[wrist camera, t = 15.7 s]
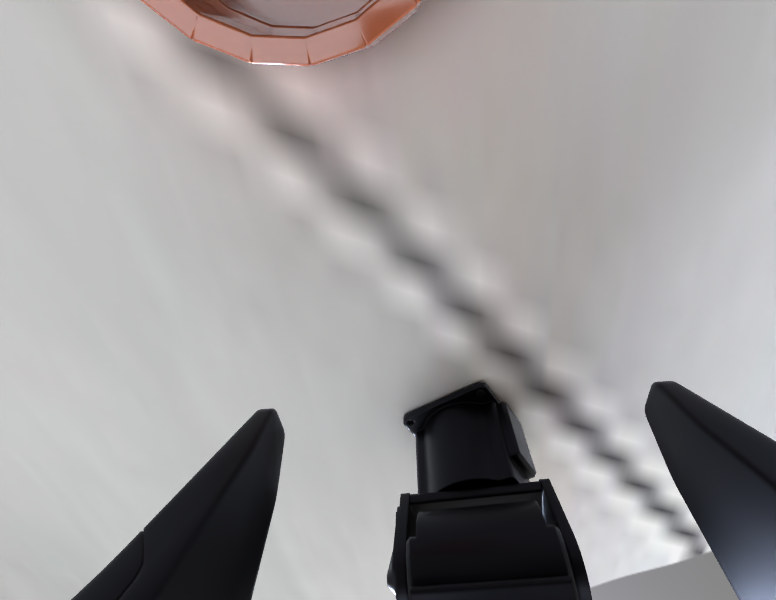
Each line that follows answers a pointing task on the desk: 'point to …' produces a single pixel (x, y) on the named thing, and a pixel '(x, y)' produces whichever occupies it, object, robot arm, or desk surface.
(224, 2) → the pot
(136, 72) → the desk surface
